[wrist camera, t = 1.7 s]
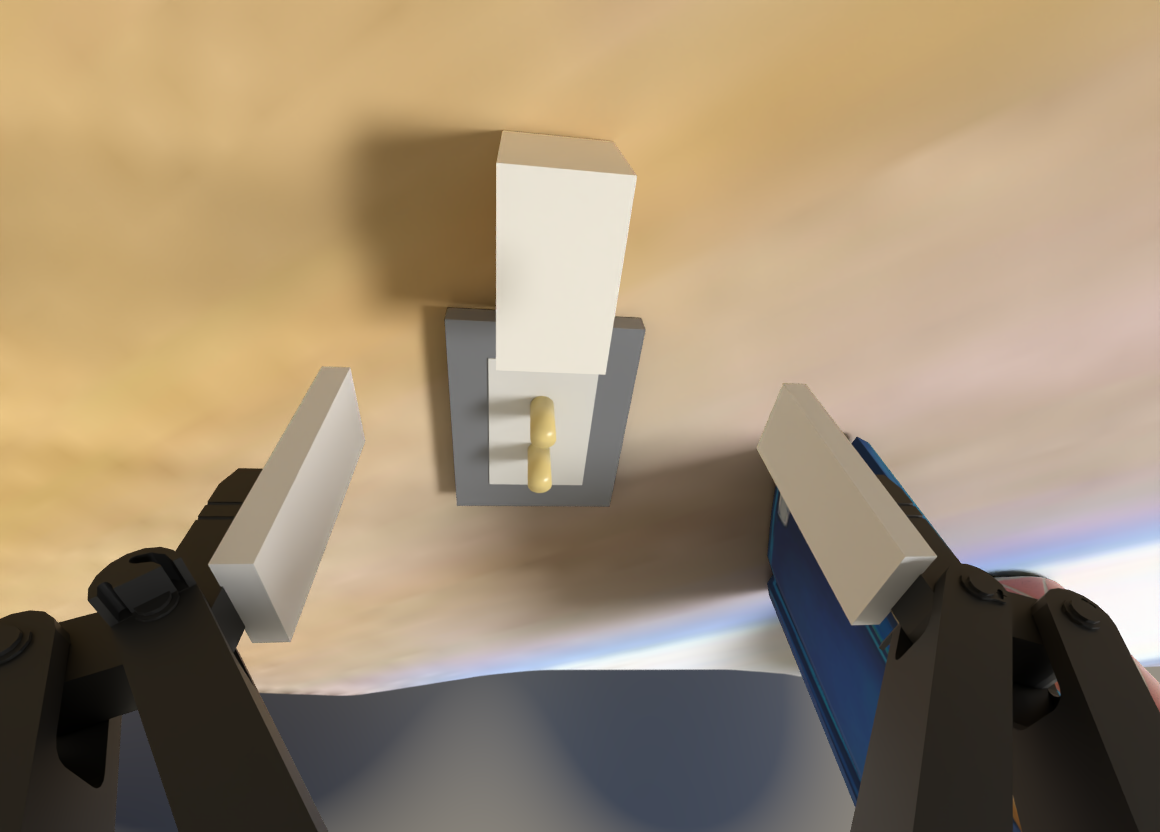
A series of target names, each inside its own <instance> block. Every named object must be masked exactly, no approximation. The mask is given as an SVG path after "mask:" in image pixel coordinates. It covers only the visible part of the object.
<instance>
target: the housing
mask: <svg viewBox="0 0 1160 832" xmlns="http://www.w3.org/2000/svg"><path fill="white" fill-rule="evenodd" d="M636 179H637V175H636V173H635V172H634V170H633V169H632V168H631V166H630V165H629V163H628V162H627V160H626V159H625V157H624V156H623V154H622V153H621V151H620V150H619V149H618V147H617V146H616V144H615V143H614V141H605V140H595V139H585V138H575V137H565V136H555V135H545V134H535V133H525V132H515V131H505V130H503V131H502V136H501V141H500V146H499V152H498V157H497V162H496V370H501V371H526V372H551V373H576V374H601V375H605V374H606V368H607V362H608V355H609V349H610V343H611V337H612V330H613V324H614V318H615V311H616V305H617V299H618V293H619V286H620V280H621V274H622V267H623V261H624V255H625V248H626V242H627V236H628V230H629V223H630V217H631V211H632V204H633V198H634V192H635V185H636Z"/></svg>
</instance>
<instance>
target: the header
mask: <svg viewBox="0 0 1160 832" xmlns="http://www.w3.org/2000/svg"><path fill="white" fill-rule="evenodd" d="M445 333H446V348H447V363H448V378H449V393H450V408H451V423H452V438H453V453H454V468H455V483H456V498H457V506H603V507H610V502H611V497H612V492H613V487H614V482H615V477H616V472H617V467H618V463H619V458H620V453H621V448H622V443H623V438H624V433H625V428H626V423H627V418H628V413H629V408H630V404H631V399H632V394H633V389H634V384H635V379H636V374H637V369H638V364H639V359H640V354H641V349H642V344H643V340H644V335H645V327H644V324H643V322H642V319H641V318H629V317H615V318H614V324H613V330H612V337H611V343H610V349H609V355H608V362H607V368H606V374H605V375H601V374H576V373H551V372H526V371H501V370H496V310H483V309H465V308H447V312H446V316H445Z"/></svg>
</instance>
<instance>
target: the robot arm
mask: <svg viewBox="0 0 1160 832" xmlns="http://www.w3.org/2000/svg"><path fill="white" fill-rule="evenodd" d="M364 443H365V437H364V432H363V427H362V422H361V417H360V412H359V408H358V403H357V398H356V393H355V388H354V383H353V379H352V374H351V369H350V368H349V367H321V369H320V371H319V372H318V374H317V376H316V377H315V379H314V381H313V383H312V384H311V386H310V388H309V390H308V391H307V393H306V395H305V397H304V398H303V400H302V402H301V404H300V405H299V407H298V409H297V411H296V412H295V414H294V416H293V417H292V419H291V421H290V423H289V424H288V426H287V428H286V430H285V431H284V433H283V435H282V437H281V438H280V440H279V442H278V444H277V445H276V447H275V449H274V451H273V452H272V454H271V456H270V457H269V459H268V461H267V463H266V464H265V466H264V468H263V469H249V468H239V469H237V470H236V471H235V472H234V473H232V474H231V475H230V476H228V477H227V478H226V479H225V480H223V481H222V482H221V483H220V484H219V485H218V486H217V488H216V490H215V491H214V493H213V494H212V496H211V497H210V499H209V500H208V504H207V505H205V506H204V508H203V510H202V511H201V513H200V514H199V516H198V520H195V522H194V523H193V525H192V526H191V528H190V530H189V531H188V533H187V534H186V536H185V537H184V539H183V540H182V542H181V543H180V545H179V546H178V548H177V550H176V551H174V550H171V549H167V548H163V547H155V548H144V549H141V550H138V551H135V552H132V553H129V554H126V555H124V556H123V557H121V558H119V559H117V560H115V561H114V562H112V563H110V564H109V565H108V566H107V567H106V568H104V569H103V570H102V571H101V572H100V573H99V574H98V575H97V576H96V577H95V579H94V580H93V582H92V583H91V585H90V587H89V588H88V601H89V603H90V604H91V605H92V606H93V607H94V608H95V610H96V611H97V613H93V614H89V615H86V616H82V617H78V618H74V619H70V620H67V621H63V622H59V623H58V622H57V621H56V620H55V619H54V618H53V617H51V616H50V615H49V614H47V613H46V612H42V611H31V610H30V611H25V612H20V613H15V614H11V615H8V616H6V617H3V618H1V619H0V832H115V831H114V830H115V815H116V799H117V783H118V767H119V751H120V735H121V719H122V715H123V714H126V713H129V712H132V711H135V710H138V711H139V714H140V717H141V720H142V723H143V726H144V729H145V732H146V735H147V738H148V741H149V744H150V747H151V750H152V753H153V756H154V759H155V762H156V765H157V768H158V771H159V774H160V777H161V780H162V783H163V786H164V789H165V792H166V795H167V798H168V801H169V804H170V807H171V810H172V813H173V816H174V819H175V822H176V825H177V828H178V831H179V832H328V830H327V828H326V826H325V824H324V822H323V820H322V819H321V816H320V814H319V812H318V810H317V808H316V806H315V804H314V802H313V800H312V798H311V796H310V794H309V792H308V790H307V788H306V786H305V784H304V782H303V780H302V778H301V776H300V774H299V772H298V770H297V768H296V766H295V764H294V762H293V760H292V758H291V756H290V754H289V752H288V750H287V748H286V746H285V744H284V742H283V740H282V738H281V736H280V734H279V732H278V730H277V728H276V726H275V724H274V722H273V720H272V718H271V716H270V714H269V712H268V710H267V708H266V706H265V704H264V702H263V700H262V698H261V696H260V694H259V692H258V690H257V688H256V686H255V684H254V682H253V680H252V678H251V676H250V674H249V672H248V670H247V668H246V666H245V664H244V662H243V660H242V658H241V656H240V654H239V652H238V650H237V649H236V647H237V645H238V642H239V640H240V638H241V636H242V634H243V631H244V629H245V631H246V633H247V634H248V636H249V638H250V640H251V642H252V643H271V642H291V639H292V636H293V634H294V631H295V628H296V626H297V623H298V620H299V618H300V615H301V612H302V610H303V607H304V604H305V602H306V599H307V596H308V593H309V591H310V588H311V585H312V583H313V580H314V577H315V575H316V572H317V569H318V567H319V564H320V561H321V559H322V556H323V553H324V551H325V548H326V545H327V542H328V540H329V537H330V534H331V532H332V529H333V526H334V524H335V521H336V518H337V516H338V513H339V510H340V508H341V505H342V502H343V500H344V497H345V494H346V491H347V489H348V486H349V483H350V481H351V478H352V475H353V473H354V470H355V467H356V465H357V462H358V459H359V457H360V454H361V451H362V449H363V446H364ZM757 450H758V452H759V454H760V456H761V458H762V460H763V461H764V463H765V465H766V467H767V469H768V471H769V473H770V475H771V476H772V478H773V480H774V482H775V484H776V486H777V488H778V489H779V491H780V493H781V495H782V497H783V499H784V501H785V502H786V504H787V506H788V508H789V510H790V512H791V514H792V516H793V517H794V519H795V521H796V523H797V525H798V527H799V529H800V530H801V532H802V534H803V536H804V538H805V540H806V542H807V544H808V545H809V547H810V549H811V551H812V553H813V555H814V557H815V558H816V560H817V562H818V564H819V566H820V568H821V570H822V571H823V573H824V575H825V577H826V579H827V581H828V583H829V585H830V586H831V588H832V590H833V592H834V594H835V596H836V598H837V599H838V601H839V603H840V605H841V607H842V609H843V611H844V613H845V614H846V616H847V618H848V620H849V622H850V624H851V625H879V624H880V623H881V622H882V621H883V620H884V619H885V617H886V616H887V615H888V614H889V613H890V612H891V611H892V612H893V614H894V615H895V617H896V619H897V620H898V622H899V624H898V625H897V626H896V627H895V628H894V629H893V630H892V632H891V633H890V634H889V635H888V636H887V637H886V638H885V639H884V641H883V642H882V643H881V645H880V646H879V649H881V650H884V649H885V648H886V647H887V646H888V645H890V647H889V652H888V657H887V662H886V666H885V671H884V676H883V680H882V685H881V690H880V695H879V699H878V704H877V709H876V713H875V718H874V723H873V728H872V732H871V737H870V742H869V746H868V751H867V756H866V760H865V765H864V770H863V775H862V779H861V784H860V789H859V793H858V798H857V803H856V808H855V812H854V817H853V822H852V827H851V831H850V832H1013V798H1014V802H1015V805H1016V809H1017V813H1018V817H1019V821H1020V825H1021V829H1022V832H1160V712H1159V710H1158V708H1157V706H1156V704H1155V702H1154V700H1153V698H1152V696H1151V694H1150V692H1149V690H1148V688H1147V686H1146V684H1145V682H1144V680H1143V678H1142V676H1141V674H1140V672H1139V670H1138V668H1137V666H1136V664H1135V662H1134V660H1133V658H1132V656H1131V654H1130V652H1129V650H1128V648H1127V646H1126V645H1125V643H1124V641H1123V639H1122V637H1121V635H1120V633H1119V631H1118V629H1117V627H1116V625H1115V624H1114V622H1113V621H1112V620H1111V618H1110V617H1109V615H1108V614H1106V613H1105V612H1104V611H1103V610H1102V609H1101V608H1100V607H1099V606H1098V605H1096V604H1095V603H1094V602H1092V601H1090V600H1089V599H1087V598H1086V597H1084V596H1082V595H1080V594H1078V593H1075V592H1073V591H1071V590H1066V589H1061V588H1055V589H1050V590H1049V591H1047V592H1046V593H1045V594H1044V595H1043V596H1042V597H1041V598H1040V599H1035V598H1031V597H1027V596H1024V595H1020V594H1016V593H1012V592H1008V591H1006V589H1005V588H1004V587H1003V585H1002V584H1001V583H1000V582H998V581H997V580H996V579H995V578H994V577H993V576H991V575H990V574H988V573H986V572H985V571H983V570H981V569H980V568H977V567H974V566H971V565H968V564H961V563H960V561H959V560H958V559H957V558H956V556H955V555H954V554H953V553H952V551H951V550H950V549H949V548H948V546H947V545H946V544H945V543H944V541H943V540H942V539H941V538H940V536H939V535H938V534H937V533H936V531H935V530H934V529H933V528H932V526H931V525H930V524H929V523H928V521H927V520H926V519H923V515H922V514H921V512H920V511H919V510H918V509H917V507H916V506H913V502H912V501H911V500H910V499H909V497H908V496H907V495H906V494H905V492H904V491H903V490H902V489H901V488H900V487H899V486H898V485H896V484H895V483H894V482H893V481H891V480H890V479H889V478H887V477H886V476H885V475H875V474H874V473H873V472H872V470H871V469H870V468H869V466H868V465H867V464H866V462H865V461H864V460H863V458H862V457H861V456H860V455H859V453H858V452H857V451H856V449H855V448H854V447H853V445H852V444H851V443H850V441H849V440H848V439H847V437H846V436H845V435H844V434H843V432H842V431H841V430H840V428H839V427H838V426H837V424H836V423H835V422H834V420H833V419H832V418H831V417H830V415H829V414H828V413H827V411H826V410H825V409H824V407H823V406H822V405H821V403H820V402H819V401H818V399H817V398H816V397H815V396H814V394H813V393H812V392H811V390H810V389H809V388H808V386H807V385H806V384H793V383H783V385H782V387H781V390H780V392H779V394H778V397H777V399H776V402H775V404H774V407H773V409H772V411H771V414H770V416H769V419H768V421H767V423H766V426H765V428H764V431H763V433H762V436H761V438H760V440H759V443H758V445H757ZM1056 682H1058V684H1059V688H1060V695H1059V693H1058V691H1057V689H1056V686H1055V683H1056Z"/></svg>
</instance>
